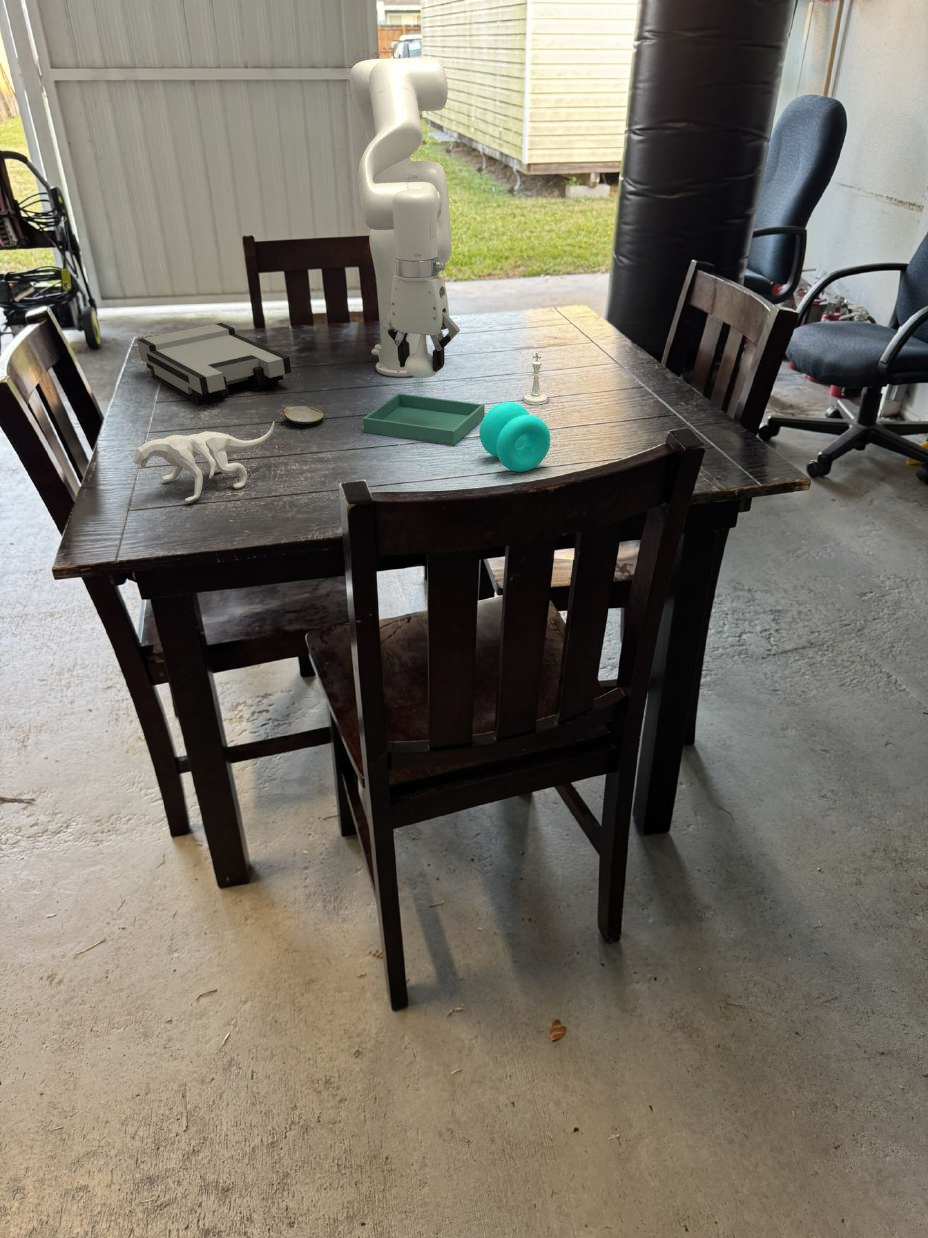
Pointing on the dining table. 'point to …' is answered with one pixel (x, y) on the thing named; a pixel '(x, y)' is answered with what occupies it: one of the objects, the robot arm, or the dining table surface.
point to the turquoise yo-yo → (514, 436)
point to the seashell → (302, 414)
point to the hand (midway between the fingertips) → (421, 366)
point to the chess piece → (536, 385)
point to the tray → (424, 418)
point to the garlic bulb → (420, 361)
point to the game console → (211, 362)
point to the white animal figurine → (205, 444)
